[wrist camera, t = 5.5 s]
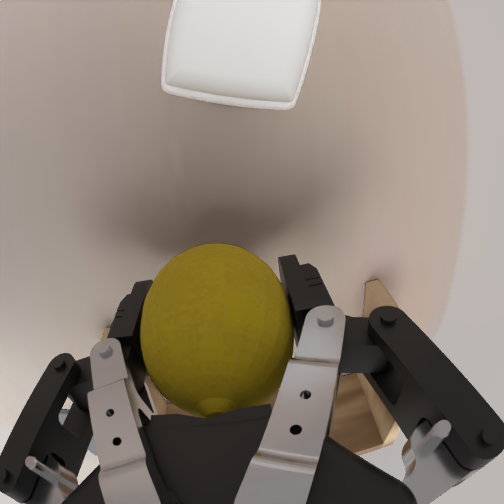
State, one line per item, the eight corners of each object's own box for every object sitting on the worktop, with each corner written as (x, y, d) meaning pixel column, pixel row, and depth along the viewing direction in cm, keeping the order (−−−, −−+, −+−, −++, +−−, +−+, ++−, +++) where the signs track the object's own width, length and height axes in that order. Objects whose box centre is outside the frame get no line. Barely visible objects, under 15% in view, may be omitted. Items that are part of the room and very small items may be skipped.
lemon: (143, 282, 14) (101, 424, 7) (195, 190, 12) (162, 322, 5) (236, 325, 16) (247, 462, 9) (298, 249, 14) (357, 390, 7)
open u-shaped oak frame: (105, 327, 19) (75, 416, 12) (379, 279, 19) (433, 361, 12) (161, 409, 24) (154, 480, 18) (365, 375, 24) (392, 444, 17)
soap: (193, -53, 8) (187, -78, 6) (324, -31, 9) (344, -51, 7) (157, 97, 13) (141, 98, 10) (294, 117, 14) (309, 122, 11)
